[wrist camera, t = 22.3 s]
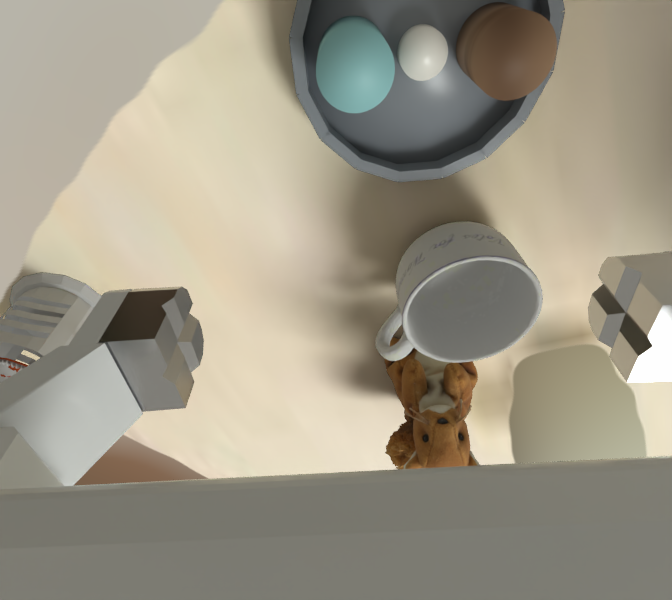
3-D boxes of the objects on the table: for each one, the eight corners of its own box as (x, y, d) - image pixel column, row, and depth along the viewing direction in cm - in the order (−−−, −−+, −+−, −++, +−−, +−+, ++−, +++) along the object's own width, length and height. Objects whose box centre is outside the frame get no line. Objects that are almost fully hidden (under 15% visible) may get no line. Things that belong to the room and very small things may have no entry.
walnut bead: (532, -2, 28) (565, 6, 24) (520, 77, 31) (548, 96, 27) (458, 6, 28) (478, 15, 24) (453, 84, 31) (470, 104, 27)
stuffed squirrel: (483, 321, 45) (528, 432, 35) (459, 411, 54) (489, 521, 43) (383, 321, 45) (398, 432, 35) (376, 411, 54) (386, 522, 43)
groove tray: (573, -137, 25) (594, -144, 23) (522, 158, 35) (534, 171, 33) (275, -103, 26) (270, -108, 24) (310, 176, 36) (308, 189, 34)
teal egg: (386, 12, 28) (394, 22, 24) (386, 89, 31) (394, 110, 27) (314, 18, 28) (311, 30, 24) (321, 95, 31) (319, 116, 27)
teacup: (490, 183, 36) (523, 232, 30) (526, 280, 42) (560, 338, 36) (339, 255, 40) (340, 312, 34) (390, 334, 46) (399, 395, 40)
